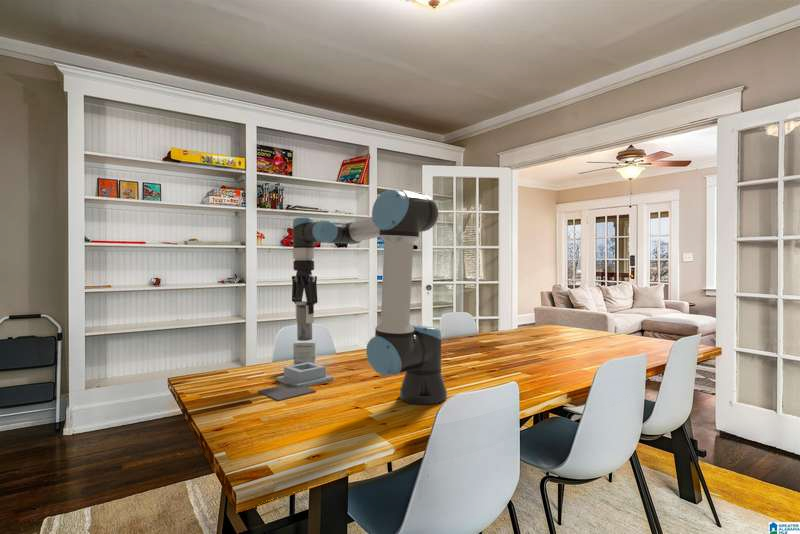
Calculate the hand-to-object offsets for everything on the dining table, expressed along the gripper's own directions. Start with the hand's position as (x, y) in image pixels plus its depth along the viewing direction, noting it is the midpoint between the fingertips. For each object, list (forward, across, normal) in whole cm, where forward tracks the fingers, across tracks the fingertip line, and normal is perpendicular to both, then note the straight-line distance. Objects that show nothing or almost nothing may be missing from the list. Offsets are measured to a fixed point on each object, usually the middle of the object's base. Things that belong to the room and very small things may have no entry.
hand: (304, 321), depth 161 cm
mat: (+22, -8, +12) cm, 26 cm away
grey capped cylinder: (+7, 0, 0) cm, 7 cm away
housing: (+22, 0, 0) cm, 22 cm away
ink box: (+22, +12, -8) cm, 26 cm away
